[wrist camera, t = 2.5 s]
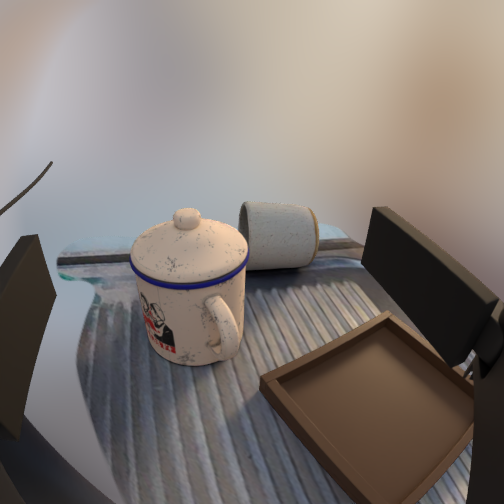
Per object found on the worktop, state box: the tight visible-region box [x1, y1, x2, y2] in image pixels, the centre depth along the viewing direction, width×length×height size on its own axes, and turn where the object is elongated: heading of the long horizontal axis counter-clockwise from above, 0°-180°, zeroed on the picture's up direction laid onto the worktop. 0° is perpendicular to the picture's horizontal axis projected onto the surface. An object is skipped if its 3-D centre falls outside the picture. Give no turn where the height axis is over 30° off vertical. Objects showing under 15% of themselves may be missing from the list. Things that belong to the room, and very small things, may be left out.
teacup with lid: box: [130, 208, 249, 366], centre depth 25 cm, size 12×9×12 cm
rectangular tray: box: [259, 310, 474, 504], centre depth 21 cm, size 15×15×2 cm
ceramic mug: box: [238, 201, 319, 270], centre depth 38 cm, size 11×8×8 cm
